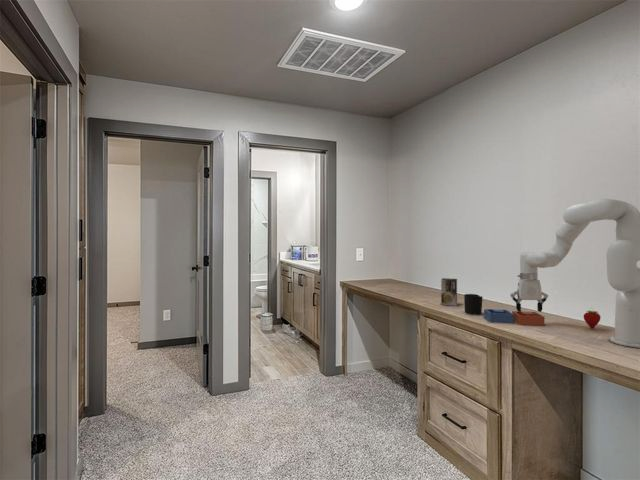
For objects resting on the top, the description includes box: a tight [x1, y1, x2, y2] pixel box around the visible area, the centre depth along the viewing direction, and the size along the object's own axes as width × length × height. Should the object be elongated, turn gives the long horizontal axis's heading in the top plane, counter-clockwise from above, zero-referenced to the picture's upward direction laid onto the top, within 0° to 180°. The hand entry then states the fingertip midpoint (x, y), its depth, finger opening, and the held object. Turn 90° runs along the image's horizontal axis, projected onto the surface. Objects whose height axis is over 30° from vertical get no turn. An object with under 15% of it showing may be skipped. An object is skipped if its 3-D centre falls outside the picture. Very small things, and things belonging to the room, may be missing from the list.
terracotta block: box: [522, 311, 535, 316], centre depth 186 cm, size 4×4×4 cm
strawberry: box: [583, 307, 601, 329], centre depth 176 cm, size 6×8×10 cm
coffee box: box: [440, 277, 458, 307], centre depth 232 cm, size 9×6×16 cm
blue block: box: [493, 309, 505, 314], centre depth 192 cm, size 4×4×4 cm
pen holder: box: [463, 293, 483, 316], centre depth 208 cm, size 9×9×10 cm
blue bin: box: [483, 308, 515, 324], centre depth 192 cm, size 11×11×4 cm
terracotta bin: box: [511, 310, 546, 327], centre depth 187 cm, size 11×11×4 cm
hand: (529, 311), depth 186 cm, fingers open, 9 cm apart
